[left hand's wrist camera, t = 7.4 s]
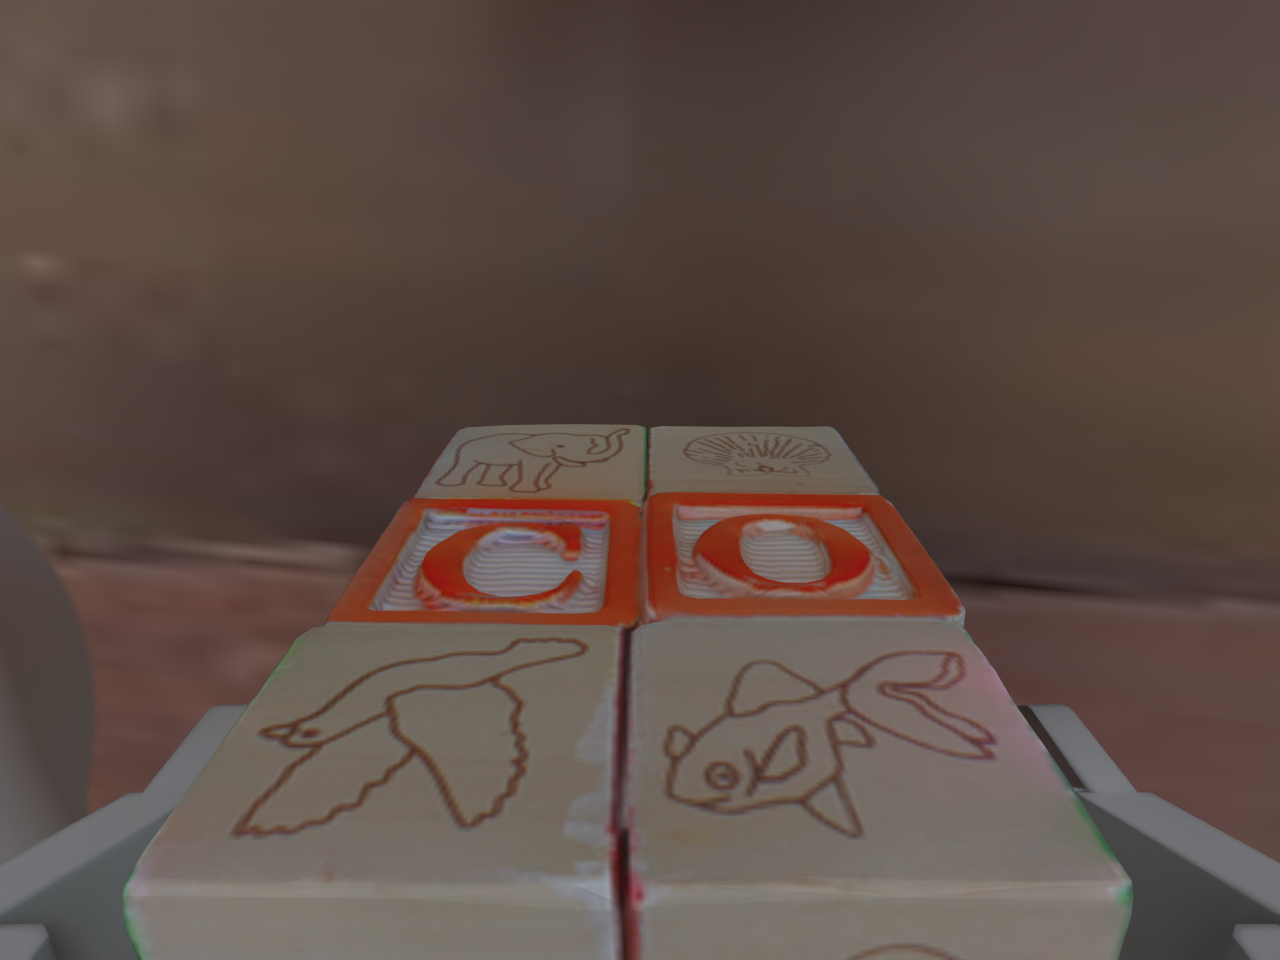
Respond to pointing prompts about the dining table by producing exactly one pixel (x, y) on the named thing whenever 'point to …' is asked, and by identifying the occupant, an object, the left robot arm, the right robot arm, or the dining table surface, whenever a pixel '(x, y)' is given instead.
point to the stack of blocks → (634, 734)
